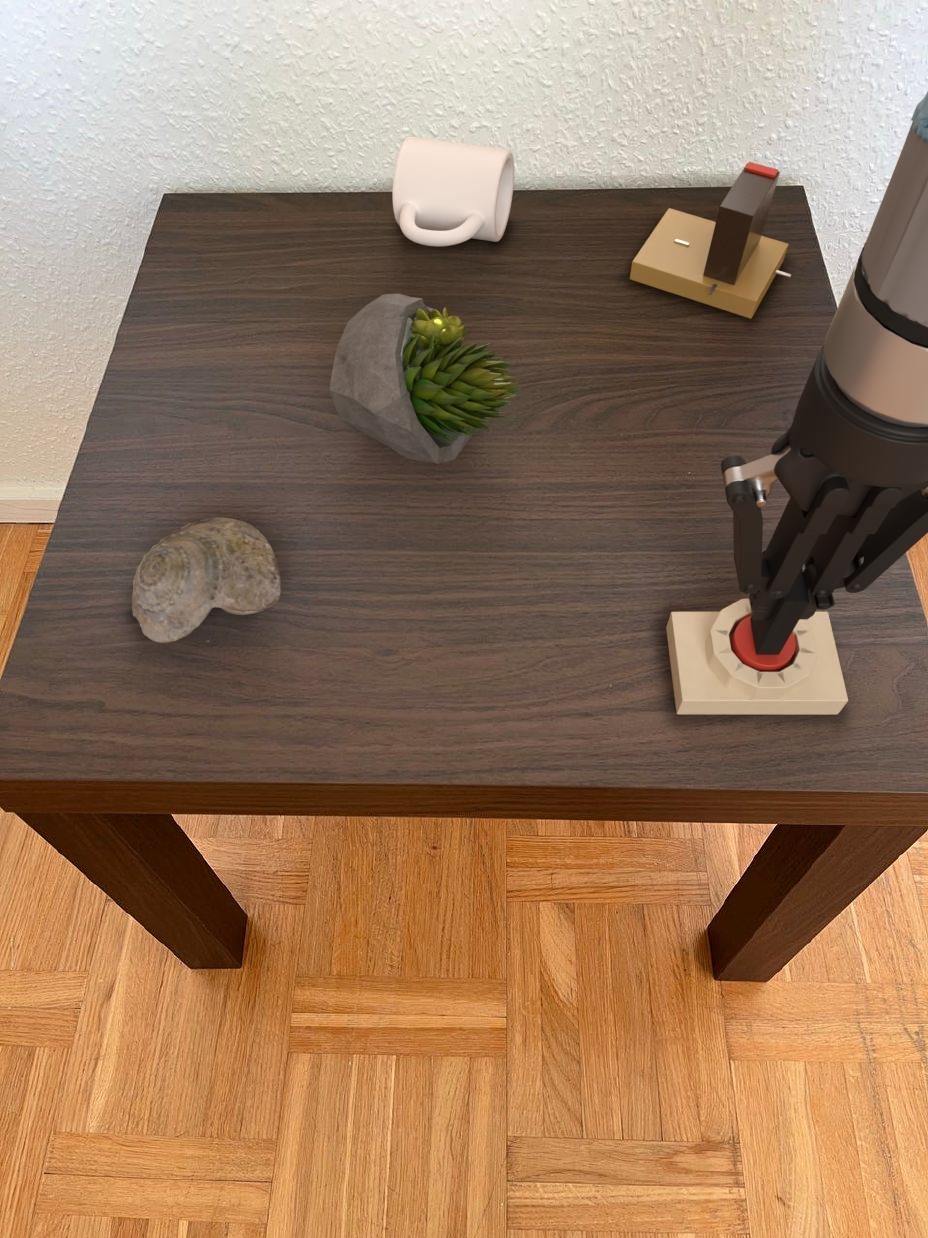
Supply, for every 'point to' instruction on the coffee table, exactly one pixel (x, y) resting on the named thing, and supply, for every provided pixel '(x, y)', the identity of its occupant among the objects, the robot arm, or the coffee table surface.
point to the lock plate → (681, 260)
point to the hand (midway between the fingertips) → (764, 636)
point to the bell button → (746, 650)
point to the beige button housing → (729, 687)
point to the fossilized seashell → (203, 577)
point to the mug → (451, 191)
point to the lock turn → (740, 222)
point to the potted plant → (416, 379)
